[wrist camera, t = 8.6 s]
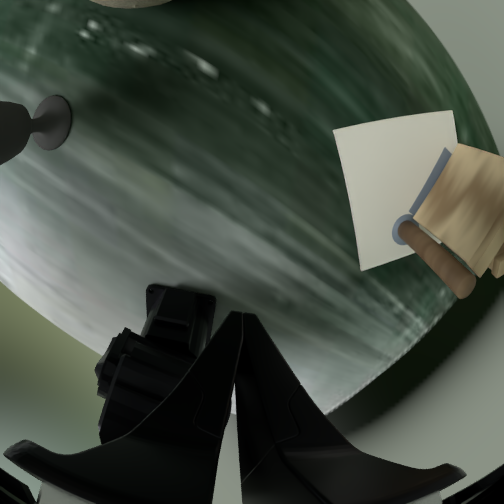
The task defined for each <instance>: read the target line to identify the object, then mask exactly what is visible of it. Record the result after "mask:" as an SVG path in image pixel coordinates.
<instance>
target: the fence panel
mask: <svg viewBox="0 0 504 504" xmlns="http://www.w3.org/2000/svg"><path fill="white" fill-rule="evenodd" d="M413 219H414V220H415V221H417V222H418V223H419V224H420V225H421V226H423V227H424V228H425V229H426V230H428V231H429V232H430V233H432V234H433V235H434V236H435V237H436V238H438V239H439V240H440V241H441V242H443V243H444V244H445V245H446V246H447V247H449V248H450V249H451V250H452V251H453V252H454V253H456V254H457V255H458V256H459V257H460V258H461V259H462V260H463V261H465V262H466V263H467V265H468V266H469V267H470V268H471V269H472V270H473V272H474V273H475V274H476V275H477V276H478V277H481V276H482V275H483V273H484V272H485V270H486V269H487V267H488V266H489V264H490V263H491V261H492V260H493V258H494V257H495V255H496V254H497V252H498V251H499V249H500V247H501V246H502V244H503V243H504V157H501V156H498V155H495V154H492V153H489V152H486V151H483V150H480V149H477V148H473V147H470V146H466V145H463V144H459V143H458V144H457V146H456V148H455V150H454V152H453V153H452V155H451V157H450V159H449V161H448V162H447V164H446V166H445V168H444V169H443V171H442V173H441V174H440V176H439V178H438V179H437V181H436V183H435V184H434V186H433V188H432V189H431V191H430V192H429V194H428V196H427V197H426V199H425V200H424V202H423V203H422V205H421V206H420V208H419V209H418V211H417V212H416V214H415V215H414V217H413Z"/></svg>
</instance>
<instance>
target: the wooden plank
mask: <svg viewBox="0 0 504 504" xmlns="http://www.w3.org/2000/svg"><path fill="white" fill-rule="evenodd" d="M398 236H399V237H400V238H401V239H402V240H403V241H404V242H405V243H406V244H407V245H408V246H409V247H410V248H411V249H413V250H414V251H415V252H416V253H417V254H418V255H419V256H420V257H421V258H422V259H423V260H424V261H425V262H426V263H427V264H428V265H429V266H430V268H431V269H432V270H433V271H434V272H435V273H436V274H437V275H438V276H439V277H440V278H441V279H442V280H443V281H444V282H445V283H446V285H447V286H448V287H449V288H450V289H451V290H452V291H453V292H454V293H455V295H456V296H457V297H458V298H460V299H462V298H465V297H467V296H468V295H469V294H470V293H471V292H472V290H473V289H474V287H475V284H476V277H475V276H474V275H473V274H472V273H471V272H470V271H469V270H468V269H467V268H465V267H464V266H463V265H462V264H461V263H460V262H459V261H458V260H457V259H456V258H455V257H453V256H452V255H451V254H450V253H449V252H448V251H447V250H445V249H444V248H443V247H442V246H441V245H440V244H438V243H437V242H436V241H435V240H434V239H432V238H431V237H430V236H429V235H428V234H426V233H425V232H424V231H423V230H421V229H420V228H419V227H418V226H416V225H415V224H414V223H413V222H411V221H409V220H406V221H403V222H402V223H401V224H400V225H399V227H398ZM488 267H489V268H490V269H491V270H492V274H493V275H494V276H495V277H496V278H498V277H500V276H502V275H503V274H504V243H503V244H502V246H501V247H500V249H499V251H498V252H497V254H496V255H495V257H494V258H493V260H492V261H491V263H490V264H489V266H488Z"/></svg>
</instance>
